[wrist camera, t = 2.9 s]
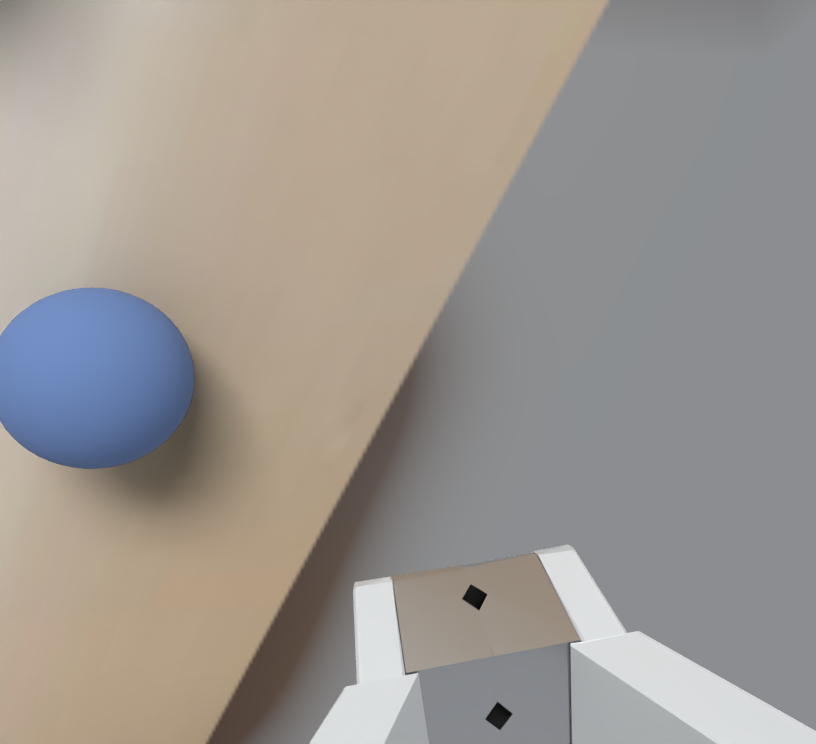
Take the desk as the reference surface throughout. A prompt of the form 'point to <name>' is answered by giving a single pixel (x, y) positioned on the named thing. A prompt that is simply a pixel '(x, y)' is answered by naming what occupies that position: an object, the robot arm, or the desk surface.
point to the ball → (93, 378)
